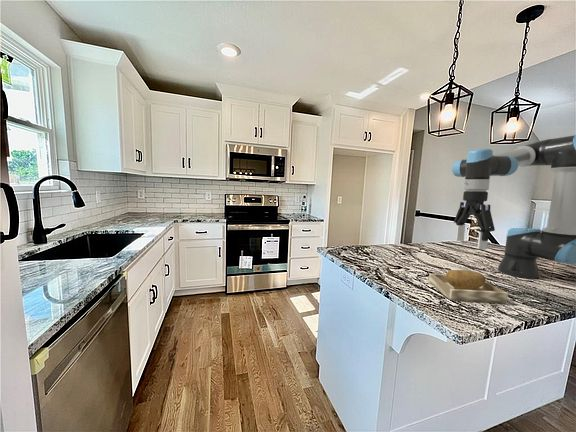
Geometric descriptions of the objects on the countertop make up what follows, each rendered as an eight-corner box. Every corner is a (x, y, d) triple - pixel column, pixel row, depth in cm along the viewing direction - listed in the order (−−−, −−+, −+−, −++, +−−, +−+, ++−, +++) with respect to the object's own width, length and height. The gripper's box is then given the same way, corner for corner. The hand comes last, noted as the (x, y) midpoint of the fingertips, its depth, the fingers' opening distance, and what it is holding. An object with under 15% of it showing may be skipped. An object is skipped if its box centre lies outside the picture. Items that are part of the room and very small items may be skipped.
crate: (474, 284, 107) (476, 276, 106) (506, 303, 89) (508, 293, 89) (428, 282, 108) (429, 273, 108) (450, 300, 91) (451, 290, 91)
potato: (491, 296, 93) (494, 276, 92) (452, 293, 95) (454, 273, 94) (475, 285, 103) (477, 267, 102) (439, 283, 104) (441, 265, 103)
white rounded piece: (464, 275, 118) (465, 267, 117) (475, 282, 110) (476, 273, 109) (446, 274, 118) (447, 266, 118) (456, 281, 110) (457, 272, 110)
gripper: (447, 190, 106) (443, 237, 109) (488, 191, 82) (481, 252, 84) (465, 190, 106) (460, 238, 108) (512, 191, 81) (505, 253, 84)
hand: (470, 244), depth 96 cm, fingers open, 13 cm apart
